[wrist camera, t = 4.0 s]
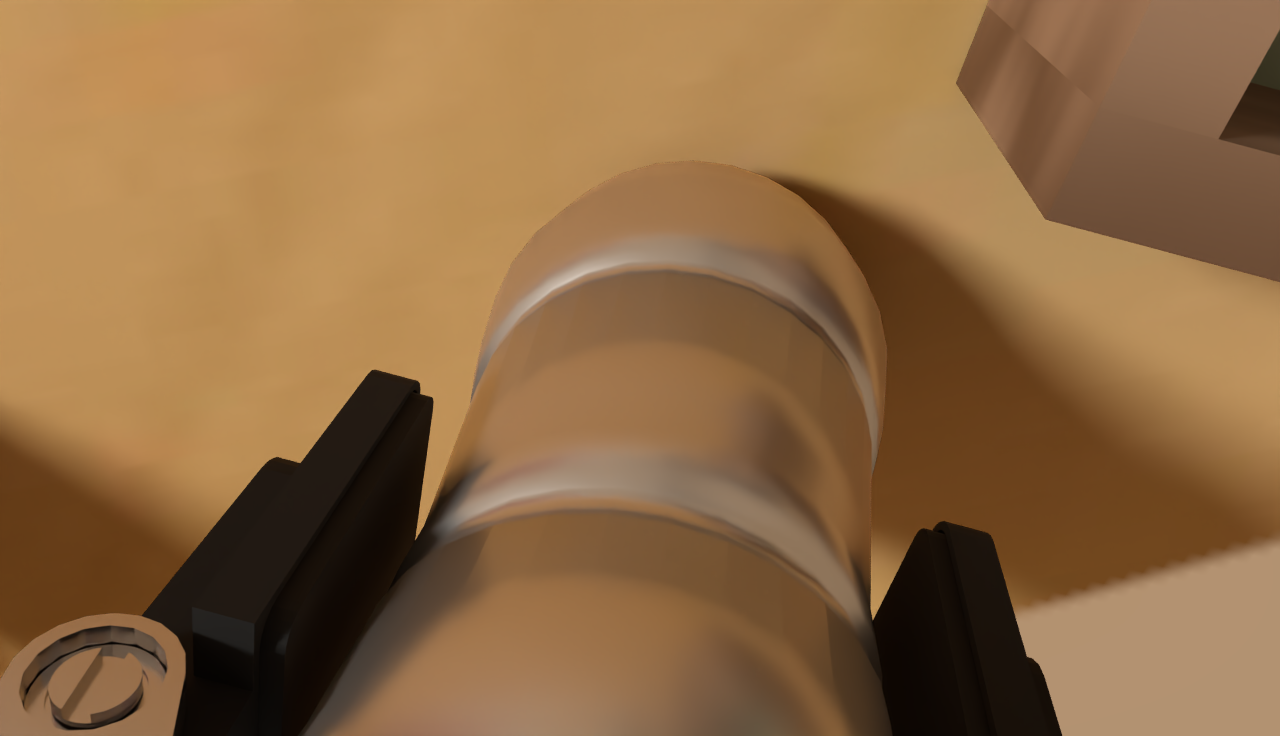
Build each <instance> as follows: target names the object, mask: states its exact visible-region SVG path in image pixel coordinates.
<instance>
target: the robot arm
mask: <svg viewBox="0 0 1280 736" xmlns="http://www.w3.org/2000/svg"><path fill="white" fill-rule="evenodd" d="M432 412H433V398H432V397H429V396H425V395H422V394H420V383H419V382H418V381H416V380H412V379H408V378H404V377H401V376H397V375H393V374H389V373H386V372H382V371H378V370H372V371H371V372H370V373H369V374H368V375H367V376H366V377H365V379H364V380H363V381H362V383H361V384H360V385H359V387H358V388H357V389H356V391H355V392H354V393H353V395H352V396H351V397H350V399H349V400H348V401H347V403H346V404H345V405H344V407H343V408H342V409H341V410H340V412H339V413H338V414H337V416H336V417H335V418H334V420H333V421H332V422H331V424H330V425H329V426H328V428H327V429H326V430H325V432H324V433H323V434H322V436H321V437H320V438H319V440H318V441H317V442H316V444H315V445H314V446H313V448H312V449H311V450H310V451H309V453H308V454H307V455H306V457H305V458H304V459H303V461H302V462H301V463H297V462H294V461H290V460H286V459H282V458H279V457H276V458H273V459H271V460H269V461H268V462H267V463H266V464H265V465H264V466H263V467H262V468H261V469H260V471H259V472H258V473H257V474H256V475H255V477H254V478H253V479H252V480H251V482H250V483H249V484H248V485H247V487H246V488H245V489H244V490H243V492H242V493H241V494H240V495H239V496H238V498H237V499H236V500H235V501H234V503H233V504H232V505H231V506H230V508H229V509H228V510H227V511H226V512H225V514H224V515H223V516H222V517H221V519H220V520H219V521H218V522H217V524H216V525H215V526H214V527H213V529H212V530H211V531H210V532H209V533H208V535H207V536H206V537H205V538H204V540H203V541H202V542H201V543H200V545H199V546H198V547H197V548H196V549H195V551H194V552H193V553H192V554H191V556H190V557H189V558H188V559H187V561H186V562H185V563H184V564H183V566H182V567H181V568H180V569H179V570H178V572H177V573H176V574H175V575H174V577H173V578H172V579H171V580H170V582H169V583H168V584H167V585H166V586H165V588H164V589H163V590H162V591H161V593H160V594H159V595H158V596H157V598H156V599H155V600H154V601H153V603H152V604H151V605H150V606H149V607H148V609H147V610H146V611H145V612H144V614H143V615H142V616H140V615H130V614H120V613H109V614H101V615H92V616H85V617H82V618H79V619H76V620H73V621H70V622H67V623H64V624H60V625H58V626H56V627H54V628H53V629H51V630H49V631H47V632H46V633H44V634H42V635H40V636H38V637H37V638H35V639H33V640H32V641H31V642H30V643H29V644H28V645H27V646H26V647H25V648H23V649H22V650H21V651H20V652H19V653H18V654H17V655H16V656H15V657H14V658H13V659H12V661H11V663H10V664H9V666H8V667H7V669H6V671H5V672H4V674H3V676H2V677H1V679H0V736H298V735H299V734H300V732H301V731H302V729H303V728H304V727H305V725H306V724H307V722H308V720H309V719H310V717H311V715H312V714H313V712H314V710H315V709H316V707H317V705H318V703H319V702H320V700H321V698H322V697H323V695H324V693H325V692H326V690H327V688H328V687H329V685H330V683H331V682H332V680H333V678H334V676H335V675H336V673H337V671H338V670H339V668H340V666H341V665H342V663H343V661H344V660H345V658H346V656H347V655H348V653H349V651H350V649H351V648H352V646H353V644H354V643H355V641H356V639H357V638H358V636H359V634H360V633H361V631H362V629H363V628H364V626H365V624H366V622H367V621H368V619H369V617H370V616H371V614H372V612H373V611H374V609H375V607H376V606H377V604H378V602H379V601H380V600H381V599H382V598H383V596H384V595H385V594H386V593H387V591H388V589H389V587H390V585H391V583H392V581H393V579H394V577H395V575H396V573H397V571H398V569H399V568H400V566H401V564H402V562H403V560H404V559H405V557H406V555H407V554H408V552H409V550H410V549H411V547H412V545H413V544H414V542H415V537H416V529H417V522H418V515H419V507H420V500H421V493H422V485H423V478H424V471H425V463H426V456H427V449H428V441H429V434H430V427H431V419H432ZM873 626H874V632H875V637H876V643H877V649H878V654H879V660H880V666H881V671H882V690H883V694H884V698H885V702H886V707H887V711H888V715H889V719H890V724H891V730H892V735H893V736H1062V733H1061V730H1060V727H1059V724H1058V720H1057V717H1056V714H1055V710H1054V707H1053V704H1052V700H1051V697H1050V694H1049V690H1048V688H1047V684H1046V681H1045V678H1044V675H1043V673H1042V670H1041V668H1040V666H1039V664H1038V663H1036V662H1035V661H1034V660H1033V659H1032V658H1029V657H1027V656H1026V652H1025V649H1024V645H1023V642H1022V638H1021V635H1020V632H1019V628H1018V625H1017V621H1016V618H1015V614H1014V611H1013V607H1012V604H1011V600H1010V597H1009V594H1008V590H1007V587H1006V583H1005V580H1004V576H1003V573H1002V569H1001V566H1000V563H999V559H998V556H997V552H996V549H995V545H994V542H993V539H992V537H991V535H989V534H988V533H986V532H982V531H978V530H975V529H971V528H967V527H963V526H960V525H956V524H952V523H949V522H945V521H942V522H939V523H938V524H937V525H936V526H935V527H934V529H933V531H932V530H928V529H924V528H923V529H920V530H919V531H918V533H917V534H916V536H915V538H914V540H913V542H912V544H911V546H910V548H909V550H908V552H907V554H906V556H905V558H904V560H903V562H902V564H901V566H900V568H899V570H898V572H897V574H896V576H895V578H894V580H893V582H892V584H891V586H890V588H889V590H888V592H887V594H886V596H885V598H884V600H883V602H882V604H881V606H880V608H879V610H878V612H877V614H876V616H875V618H874V620H873Z"/></svg>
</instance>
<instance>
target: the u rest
mask: <svg viewBox="0 0 1280 736" xmlns="http://www.w3.org/2000/svg"><path fill="white" fill-rule="evenodd" d="M956 84H957V85H958V87H959V89H960V90H961V92H962V93H963V95H964V96H965V98H966V99H967V101H968V102H969V104H970V105H971V107H972V108H973V110H974V111H975V113H976V114H977V116H978V117H979V119H980V120H981V122H982V124H983V125H984V127H985V128H986V130H987V131H988V133H989V134H990V136H991V137H992V139H993V140H994V142H995V143H996V145H997V146H998V148H999V149H1000V151H1001V152H1002V154H1003V156H1004V157H1005V159H1006V160H1007V162H1008V163H1009V165H1010V166H1011V168H1012V169H1013V171H1014V172H1015V174H1016V175H1017V177H1018V178H1019V180H1020V181H1021V183H1022V184H1023V186H1024V187H1025V189H1026V191H1027V192H1028V194H1029V195H1030V197H1031V198H1032V200H1033V201H1034V203H1035V204H1036V206H1037V207H1038V209H1039V210H1040V212H1041V213H1042V215H1043V216H1044V218H1045V219H1046V220H1049V221H1053V222H1057V223H1061V224H1064V225H1068V226H1072V227H1076V228H1079V229H1083V230H1087V231H1091V232H1094V233H1098V234H1102V235H1106V236H1109V237H1113V238H1117V239H1121V240H1124V241H1128V242H1132V243H1136V244H1139V245H1143V246H1147V247H1151V248H1154V249H1158V250H1162V251H1166V252H1169V253H1173V254H1177V255H1181V256H1184V257H1188V258H1192V259H1196V260H1199V261H1203V262H1207V263H1211V264H1214V265H1218V266H1222V267H1226V268H1229V269H1233V270H1237V271H1241V272H1244V273H1248V274H1252V275H1256V276H1259V277H1263V278H1267V279H1271V280H1274V281H1278V282H1280V0H989V2H988V4H987V7H986V9H985V12H984V14H983V17H982V19H981V22H980V24H979V27H978V29H977V32H976V34H975V37H974V39H973V42H972V44H971V47H970V49H969V52H968V54H967V57H966V59H965V62H964V65H963V67H962V70H961V72H960V75H959V77H958V80H957V82H956Z"/></svg>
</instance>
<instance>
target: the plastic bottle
mask: <svg viewBox="0 0 1280 736" xmlns="http://www.w3.org/2000/svg"><path fill="white" fill-rule="evenodd" d="M886 372H887V346H886V340H885V335H884V330H883V325H882V320H881V314H880V311H879V309H878V306H877V304H876V302H875V300H874V297H873V295H872V293H871V290H870V288H869V286H868V284H867V281H866V279H865V277H864V275H863V273H862V272H861V270H860V269H859V267H858V266H857V264H856V262H855V261H854V259H853V258H852V256H851V254H850V253H849V251H848V250H847V248H846V247H845V245H844V244H843V243H842V241H841V240H840V239H839V237H838V236H837V235H836V233H835V232H834V230H833V229H832V228H831V226H830V225H829V224H828V222H827V221H826V220H825V219H824V218H823V217H822V216H821V215H820V214H819V213H818V212H816V211H815V210H814V209H813V208H812V207H811V206H810V205H809V204H807V203H806V202H805V201H804V200H803V199H802V198H801V197H800V196H798V195H797V194H795V193H793V192H792V191H790V190H788V189H786V188H785V187H783V186H781V185H779V184H778V183H776V182H774V181H772V180H771V179H769V178H767V177H765V176H762V175H759V174H756V173H753V172H750V171H747V170H744V169H741V168H738V167H735V166H732V165H726V164H717V163H709V162H701V161H681V162H668V163H656V164H652V165H649V166H645V167H642V168H638V169H635V170H631V171H628V172H624V173H621V174H619V175H617V176H615V177H613V178H611V179H609V180H607V181H606V182H604V183H602V184H600V185H598V186H596V187H594V188H592V189H590V190H589V191H587V192H586V193H585V194H583V195H582V196H581V197H580V198H578V199H577V200H576V201H574V202H573V203H572V204H570V205H569V206H568V207H566V208H565V209H564V210H563V211H562V212H560V213H559V214H558V215H557V216H555V217H554V218H553V219H552V220H551V221H549V222H548V223H547V224H546V225H545V226H543V227H542V228H541V229H540V230H539V231H537V232H536V233H535V234H534V235H533V237H532V238H531V239H530V240H529V242H528V243H527V244H526V246H525V247H524V248H523V249H522V251H521V252H520V253H519V254H518V256H517V257H516V258H515V260H514V261H513V262H512V263H511V265H510V268H509V270H508V272H507V274H506V276H505V278H504V280H503V282H502V284H501V286H500V289H499V291H498V293H497V295H496V297H495V300H494V304H493V307H492V310H491V313H490V317H489V320H488V323H487V326H486V330H485V333H484V336H483V339H482V344H481V348H480V352H479V357H478V361H477V366H476V370H475V375H474V381H473V388H472V395H471V402H470V406H469V409H468V411H467V414H466V417H465V419H464V422H463V424H462V427H461V430H460V432H459V435H458V438H457V440H456V443H455V446H454V448H453V451H452V454H451V456H450V459H449V462H448V464H447V467H446V470H445V472H444V475H443V478H442V480H441V483H440V485H439V488H438V491H437V493H436V496H435V499H434V501H433V504H432V507H431V509H430V512H429V515H428V517H427V520H426V523H425V525H424V527H423V529H422V530H421V532H420V534H419V535H418V537H417V539H416V540H415V542H414V544H413V545H412V547H411V549H410V550H409V552H408V554H407V555H406V557H405V559H404V560H403V562H402V564H401V566H400V568H399V569H398V571H397V573H396V575H395V577H394V579H393V581H392V583H391V585H390V587H389V589H388V591H387V593H386V594H385V595H384V596H383V598H382V599H381V600H380V601H379V602H378V604H377V606H376V607H375V609H374V611H373V612H372V614H371V616H370V617H369V619H368V621H367V622H366V624H365V626H364V628H363V629H362V631H361V633H360V634H359V636H358V638H357V639H356V641H355V643H354V644H353V646H352V648H351V649H350V651H349V653H348V655H347V656H346V658H345V660H344V661H343V663H342V665H341V666H340V668H339V670H338V671H337V673H336V675H335V676H334V678H333V680H332V682H331V683H330V685H329V687H328V688H327V690H326V692H325V693H324V695H323V697H322V698H321V700H320V702H319V703H318V705H317V707H316V709H315V710H314V712H313V714H312V715H311V717H310V719H309V720H308V722H307V724H306V725H305V727H304V728H303V729H302V731H301V732H300V734H299V735H298V736H893V735H892V730H891V724H890V719H889V715H888V711H887V707H886V702H885V698H884V694H883V690H882V671H881V666H880V660H879V654H878V649H877V643H876V637H875V632H874V626H873V620H872V615H871V609H870V594H871V478H872V474H873V470H874V467H875V463H876V459H877V455H878V450H879V446H880V442H881V437H882V433H883V422H884V408H885V393H886Z"/></svg>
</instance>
